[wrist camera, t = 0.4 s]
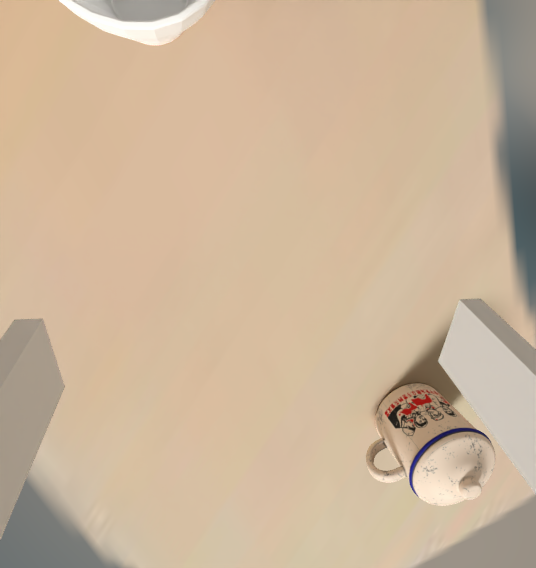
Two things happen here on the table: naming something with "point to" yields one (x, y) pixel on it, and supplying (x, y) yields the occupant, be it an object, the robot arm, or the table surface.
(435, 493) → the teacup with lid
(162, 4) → the cup
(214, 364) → the table surface
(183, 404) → the table surface
